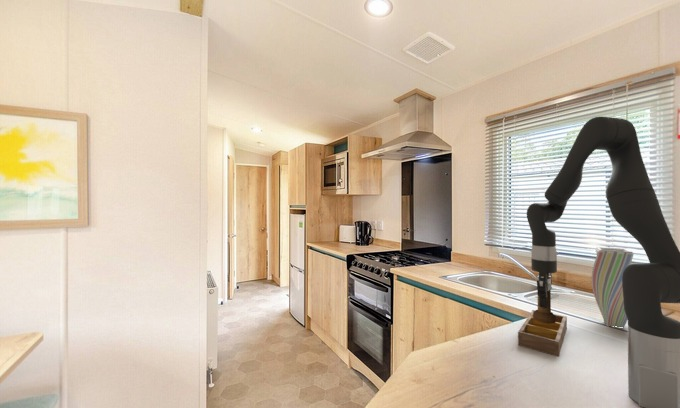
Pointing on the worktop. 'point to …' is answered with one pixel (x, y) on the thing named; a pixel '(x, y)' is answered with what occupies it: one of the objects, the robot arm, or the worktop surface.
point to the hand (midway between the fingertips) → (544, 305)
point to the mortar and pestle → (545, 311)
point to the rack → (543, 334)
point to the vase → (610, 283)
